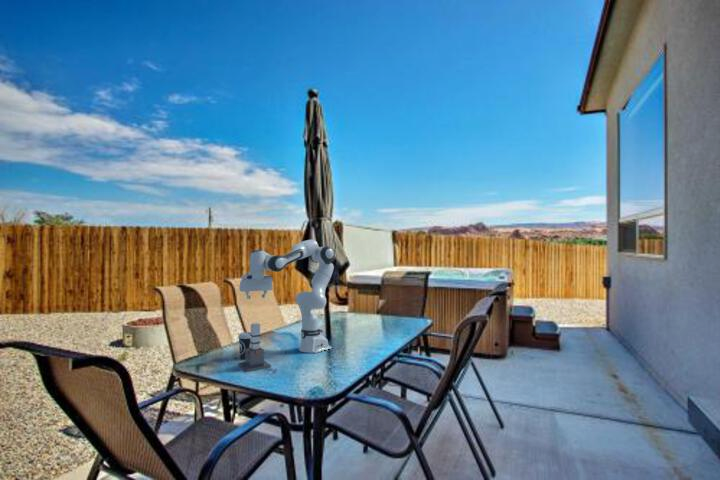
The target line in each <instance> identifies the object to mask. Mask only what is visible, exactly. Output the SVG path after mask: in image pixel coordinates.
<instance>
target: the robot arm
mask: <svg viewBox="0 0 720 480" xmlns="http://www.w3.org/2000/svg"><path fill="white" fill-rule="evenodd" d="M290 250H291V251H290V252H288V253H286V254H283V255H271V254H269V253H268V252H266V251H265V250H263V249H255V250H252V251H251V253H250V256H249V272H248V273H245V274H241V280H240V283H239V291H240V292H245V295H246V299H247V300H249V299H251V295H249V293H250V292H260V291H261V292H263V293H262V294H261V298H262V299H265V298H266V294H267V292H268V291H272V290H273V277H272V276H271V275H265V271H270V272H277V273H278V272H281V271H282V270H283V269H285V267H286V266H288V265H290V264H292V263H294V262H296V261H298V260H303V259H305V258H308V257H309V259H310V261H311V262H312V263H316V264H318V268H317V270H316V271H315V273H314V275H313V277H312V279H311V281H310V282H311V286H312V289H311V291H306V290H305V291H300V292H298V293H297V294H296V297H295V303H296V304H297V306H298V307H299V310H300V315H301V328H300V338H301V339H300V344H299V347H298V351H300V352H302V353H312V354H313V353H314V354H318V352H319V353H322V352H325V351H324V350H326V351H329V350H328V349H330V350H332V349H331V348H333V347H332V346H331V345H330V344H329V341H328V339H327V338H326V337H325V336H323V335H322V334H321V333H323V332H324V330H323V329H321V328H319V316H318V314H316V310H323V309H324V308H325V307H326V305H327V298H326V289H327V286H328V284H329V282H330V280H331V278H332V275H333V273H334V268H335V266H334V264H333V262H334V259H335V250H334V249H333V248H332V247H331V246H319V243H318V242H317V241H316V240H315V239H307V240H303V241H300V242H298V243H296V244H294V245H293V246H292V247H291V249H290ZM321 351H322V352H321Z"/></svg>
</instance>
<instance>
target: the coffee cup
mask: <svg viewBox="0 0 720 480" xmlns="http://www.w3.org/2000/svg"><path fill="white" fill-rule="evenodd" d="M250 334H251V331H248V332H247V331H246V332H245V331H244V332H240V333H239V335H238V337H237V338H238V342H239V343H238V347H239V359H240V360H244V361H245V348H250Z"/></svg>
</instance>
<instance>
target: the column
mask: <svg viewBox="0 0 720 480" xmlns="http://www.w3.org/2000/svg"><path fill="white" fill-rule="evenodd" d="M250 332H251V334H250V350H251V351H255V350H260V348H261V345H260V344H261V339H260V338H261V324H260V323H258V322H257V323H255V322H254V323H250Z"/></svg>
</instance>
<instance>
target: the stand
mask: <svg viewBox="0 0 720 480" xmlns="http://www.w3.org/2000/svg"><path fill="white" fill-rule="evenodd" d="M237 366H238V367H239V368H240V369H242V370H244V372H246V373H249V372H255V371H260V370H265V369H271V368H272V364H270V363H268V362H267V361H265V349H264V348H262V347H260V350H255V351H251V350H250V348H245V360H244V361H241V362H238V363H237Z"/></svg>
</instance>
